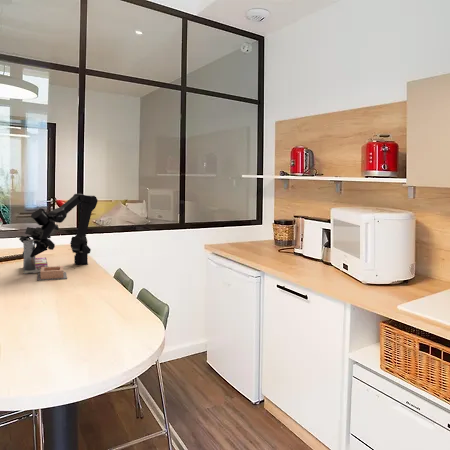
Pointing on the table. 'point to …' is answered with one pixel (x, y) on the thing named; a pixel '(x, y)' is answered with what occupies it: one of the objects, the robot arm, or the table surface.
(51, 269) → the terracotta socket
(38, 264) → the candy bar box
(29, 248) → the metal pin
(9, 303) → the table surface
